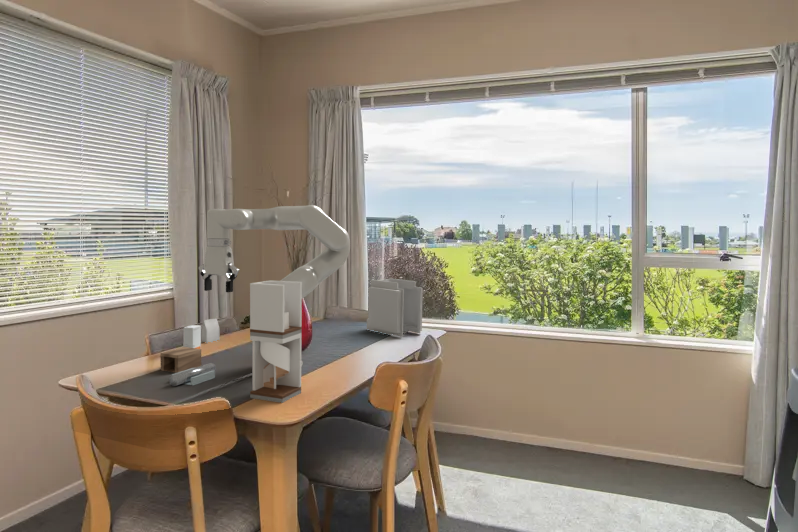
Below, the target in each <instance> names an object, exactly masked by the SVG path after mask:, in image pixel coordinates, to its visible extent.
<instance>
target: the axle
mask: <svg viewBox="0 0 798 532" xmlns="http://www.w3.org/2000/svg"><path fill="white" fill-rule="evenodd" d="M212 370H213V371H215V372H216V370H217V367H216V364H214V363H213V362H210V363H207V364H203V365H201V366H199V367H196V368H193V369H190V370H187V371H184V372H180V373H177V374H175V373H173V374H174V375H172V374H171V375H170V376H169V379H168V380H169V381H168V382H169V384H170V385H171V386H172V387H176V386H180V385H184V384H183V383H186V382H189V381H191V377H194V376H197V375H200V374H203V373H206V372H209V371H212Z"/></svg>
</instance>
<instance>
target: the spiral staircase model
mask: <svg viewBox="0 0 798 532" xmlns="http://www.w3.org/2000/svg"><path fill="white" fill-rule="evenodd" d="M302 303H303V298H302V282H290V281H280V280H263V281H257V282H250V283H249V340H250V341H252V344H251V345H252V355H251V356H252V360H251V362H252V364H251V365H252V371H251V372H252V373H251V374H252V376H251V377H252V379H251V380H252V390H250V391H249V395H250V396H249V398H250V399H255V400H262V401H268V402H275V403H280V402H281V404H282V403H285V402H286V401H288V400H291V399H293V398H294V396H295V397H297V396H299V395H300V394H301V393H302V367H301V361H302V331H303V330H302V321H303V320H302V318H303V317H302V316H303V314H302V313H303V312H302V310H303V308H302V307H303V306H302V305H303V304H302ZM292 397H293V398H292ZM290 398H291V399H290Z"/></svg>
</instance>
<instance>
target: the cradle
mask: <svg viewBox="0 0 798 532" xmlns="http://www.w3.org/2000/svg"><path fill="white" fill-rule="evenodd" d="M191 369H193V368H191ZM188 370H190V369H188ZM185 371H187V370H185ZM181 372H184V371H181ZM178 373H180V372H178ZM174 374H177V373H175V372H174V373H171V375H174ZM215 378H216V371H213V370H212V371H209V372H206V373H203V374H200V375H197V376H194V377H191V381H189V382H186V383H183V384H182V385H187V386H195V385H199V384H201V383H204V382H207V381H210V380H212V379H215Z"/></svg>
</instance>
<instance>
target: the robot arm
mask: <svg viewBox="0 0 798 532" xmlns="http://www.w3.org/2000/svg"><path fill="white" fill-rule="evenodd" d="M206 215H207V216H206V222H207V223H206V225H207V226H206V228H207V229H206V232H207V234H206V235H207V236H206V237H207V241H206V242H207V243H206V244H207V245H206V246H207V247H206V248H205V253H204V263H203V264H202V265H200V266H198V270H199V273H200V276H201V277H202V280H204V281H203V290H204V291H205V292H207V291H212V289H213V288H212V287H213V281H212V279H211V278H212V277H213V276H224V278H225V279H226V280H225V293H232V292H234V281H236V278H237V277H238V275H239V272H240V269H239V268H238V267H237V266H236V265H235V263H234V254H233V249H232V247H230V245H231V244H232V241H231V240H230V229H231V230H235V231H241V230H242V231H243V230H244V231H247V230H275V231H286V230H287V231H291V230H292V231H295V230H301V231H302V230H305V231H307V232H309V234H310V235H311V236H313V237H314V238H316V239H317V241H319V243H321V244H322V245H324V246H325V249H324V250H323V251H322V252H320V254H318V255H317V256H315V257H314V258H313V259H311V260H310V261H308V262H307V263H305V264H304V265H301V266H299V267H297V268H295V269H294V270H293V271H291V272H290V273H288V274H287V275H286V276H285V277H283V278H281V280H279V281H290V282H302V299H304V298H305V297H307V296H308V295H309V294H311V293H312V292H313V291H314V290H315V289H316V288H317V287H318V286H319V284H321V283H322V282H323V281H325V280H326V279H328V278H329V277H330V276H331V275H333V274H334V273H335V272H337V271H338V270H339V269H341V268H342V266H343V265H344V264H345V263H346V261H347V260H348V258H349V254H350V250H351V240H350V239H351V238H350V235H349V232H348V231H347V230H346V229H345V228H344V227H341V226H340V225H339V224H338V223H337V222H335V221H334V220H332V219H331V217H329V216H328V215H327V214H326V213H325V212H324V210H323V209H322V208H321V207H319V206H318V205H314V204H308V205H290V206H289V205H286V206H285V205H282V206H274V207H270V208H255V209H254V208H253V209H250V208H249V209H248V208H247V209H244V208H233V209H224V208H210V209H208V210H207V214H206ZM303 364H304V361H303V360H301V368H302V366H303Z"/></svg>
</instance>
